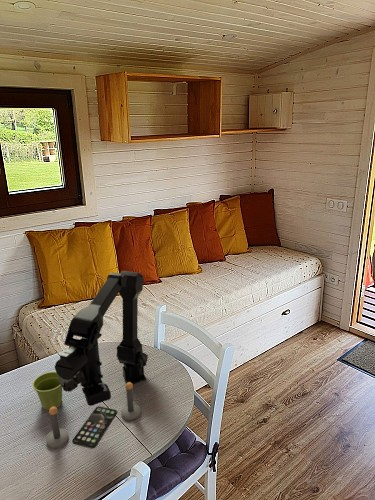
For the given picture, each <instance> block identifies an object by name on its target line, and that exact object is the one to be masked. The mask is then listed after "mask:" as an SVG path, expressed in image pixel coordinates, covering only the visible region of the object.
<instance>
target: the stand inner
mask: <svg viewBox="0 0 375 500" xmlns="http://www.w3.org/2000/svg"><path fill="white" fill-rule="evenodd" d="M133 384H134V383H133ZM133 384H132V383H131V382H128V383H125V389H126V400H127V402H126V404H125V405H123V406H122V408H121V410H120V415H121V418H122V419H123V420H125V421H134V420H137V419H138V418H140V416H141V415H142V414H141V413H142V410H141V406H140V405H139V404H137V403H134V393H133V391H134V390H133V388H134V385H133Z"/></svg>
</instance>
